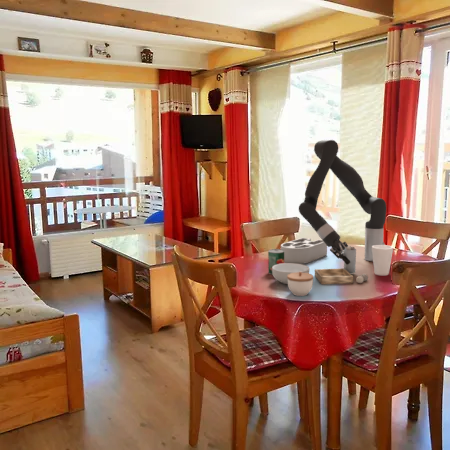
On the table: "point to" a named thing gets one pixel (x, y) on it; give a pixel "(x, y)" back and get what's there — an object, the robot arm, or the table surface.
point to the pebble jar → (351, 255)
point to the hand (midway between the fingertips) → (351, 262)
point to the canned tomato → (275, 258)
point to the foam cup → (382, 258)
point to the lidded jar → (300, 283)
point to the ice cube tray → (303, 250)
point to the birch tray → (333, 276)
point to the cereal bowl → (287, 270)
